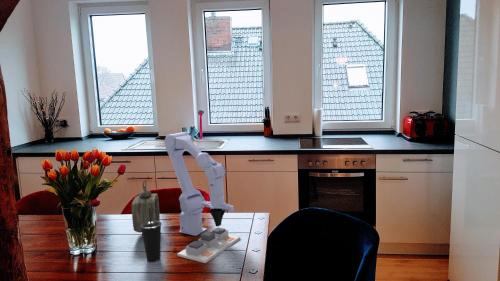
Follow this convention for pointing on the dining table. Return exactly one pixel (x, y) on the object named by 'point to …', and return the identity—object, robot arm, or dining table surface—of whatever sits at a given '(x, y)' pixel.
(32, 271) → the dining table surface
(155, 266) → the dining table surface
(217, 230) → the button far
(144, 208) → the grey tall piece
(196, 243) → the button near
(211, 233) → the button middle
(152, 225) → the drinking cup
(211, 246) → the button board
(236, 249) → the dining table surface
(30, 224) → the dining table surface
